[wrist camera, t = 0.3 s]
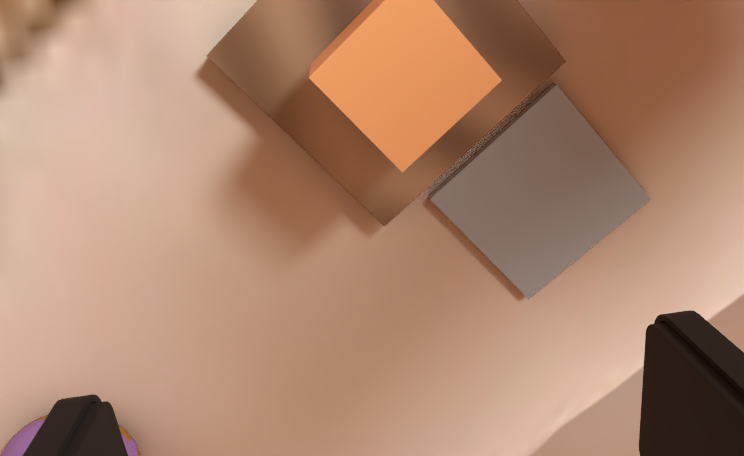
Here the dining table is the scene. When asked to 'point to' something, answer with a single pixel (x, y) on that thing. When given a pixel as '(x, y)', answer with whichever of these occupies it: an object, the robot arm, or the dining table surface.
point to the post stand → (333, 128)
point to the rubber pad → (540, 193)
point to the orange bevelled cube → (403, 76)
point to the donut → (23, 438)
